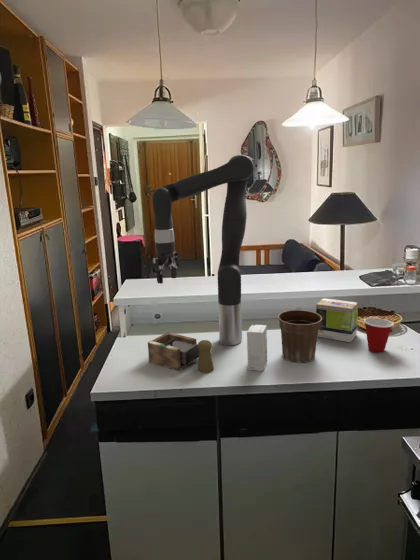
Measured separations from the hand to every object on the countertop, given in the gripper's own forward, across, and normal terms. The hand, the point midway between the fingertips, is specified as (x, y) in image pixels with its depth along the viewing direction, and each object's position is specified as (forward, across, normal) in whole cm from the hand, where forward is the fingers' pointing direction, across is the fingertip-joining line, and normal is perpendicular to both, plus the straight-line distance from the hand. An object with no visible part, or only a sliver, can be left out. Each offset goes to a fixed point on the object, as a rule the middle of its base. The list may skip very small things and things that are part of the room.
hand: (167, 280), depth 170 cm
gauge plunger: (+26, +11, +14) cm, 31 cm away
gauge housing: (+28, +10, +9) cm, 31 cm away
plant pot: (+28, -17, +49) cm, 59 cm away
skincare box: (+28, -2, +39) cm, 48 cm away
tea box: (+28, -43, +55) cm, 75 cm away
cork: (+28, +10, +24) cm, 38 cm away
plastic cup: (+28, -37, +73) cm, 87 cm away
